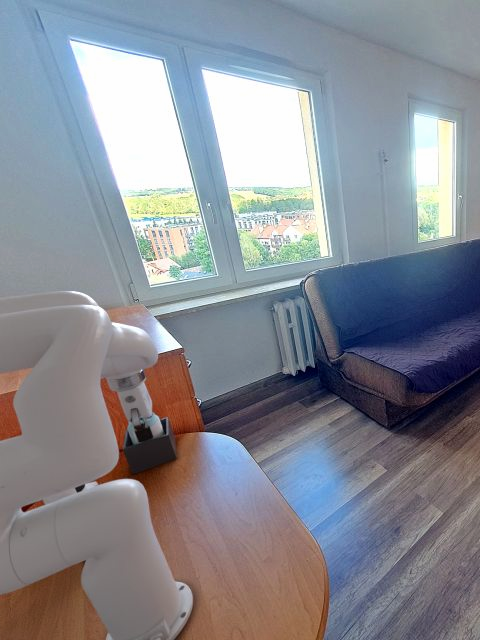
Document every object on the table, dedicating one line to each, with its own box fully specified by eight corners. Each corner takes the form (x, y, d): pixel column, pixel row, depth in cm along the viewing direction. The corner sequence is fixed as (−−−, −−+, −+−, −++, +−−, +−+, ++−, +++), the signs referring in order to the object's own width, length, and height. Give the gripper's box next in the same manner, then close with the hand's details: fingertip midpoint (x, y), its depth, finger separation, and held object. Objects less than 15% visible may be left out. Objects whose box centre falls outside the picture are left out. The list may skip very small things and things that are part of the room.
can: (158, 440, 102) (146, 408, 98) (174, 446, 100) (163, 413, 95) (132, 457, 96) (119, 422, 91) (149, 463, 94) (136, 428, 89)
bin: (176, 458, 98) (168, 434, 94) (132, 474, 92) (122, 449, 89) (175, 439, 105) (168, 416, 102) (134, 453, 99) (125, 429, 96)
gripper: (143, 388, 84) (163, 444, 91) (145, 362, 97) (162, 412, 104) (103, 398, 80) (127, 456, 87) (111, 369, 93) (131, 421, 100)
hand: (146, 432), depth 95 cm, fingers closed on can, 7 cm apart
